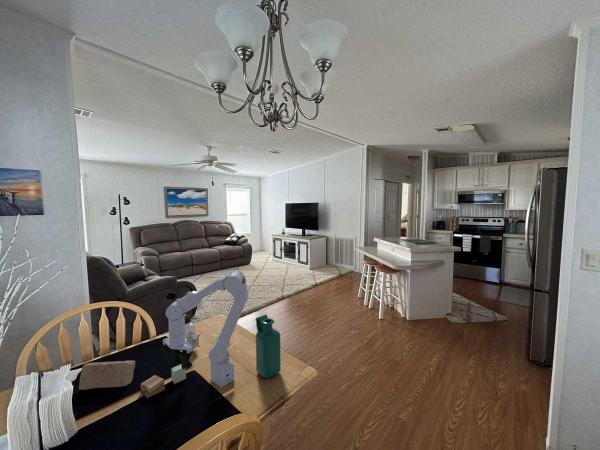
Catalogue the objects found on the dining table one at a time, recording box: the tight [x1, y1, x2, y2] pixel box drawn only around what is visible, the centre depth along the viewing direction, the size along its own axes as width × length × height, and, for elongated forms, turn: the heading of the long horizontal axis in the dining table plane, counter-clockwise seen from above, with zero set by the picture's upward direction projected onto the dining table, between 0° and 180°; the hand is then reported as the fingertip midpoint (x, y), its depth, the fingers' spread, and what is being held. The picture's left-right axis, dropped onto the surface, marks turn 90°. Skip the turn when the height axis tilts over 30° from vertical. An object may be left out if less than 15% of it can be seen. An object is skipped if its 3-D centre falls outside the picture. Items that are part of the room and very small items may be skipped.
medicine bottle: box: [184, 314, 196, 336], centre depth 135 cm, size 7×7×12 cm
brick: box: [78, 360, 136, 391], centre depth 99 cm, size 16×8×5 cm
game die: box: [185, 332, 201, 350], centre depth 122 cm, size 9×8×10 cm
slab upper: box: [140, 374, 165, 394], centre depth 97 cm, size 6×6×2 cm
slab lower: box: [141, 384, 166, 399], centre depth 97 cm, size 6×6×2 cm
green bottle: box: [255, 314, 282, 379], centre depth 108 cm, size 10×8×22 cm
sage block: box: [170, 363, 187, 385], centre depth 103 cm, size 3×4×5 cm
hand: (178, 365), depth 103 cm, fingers open, 7 cm apart
